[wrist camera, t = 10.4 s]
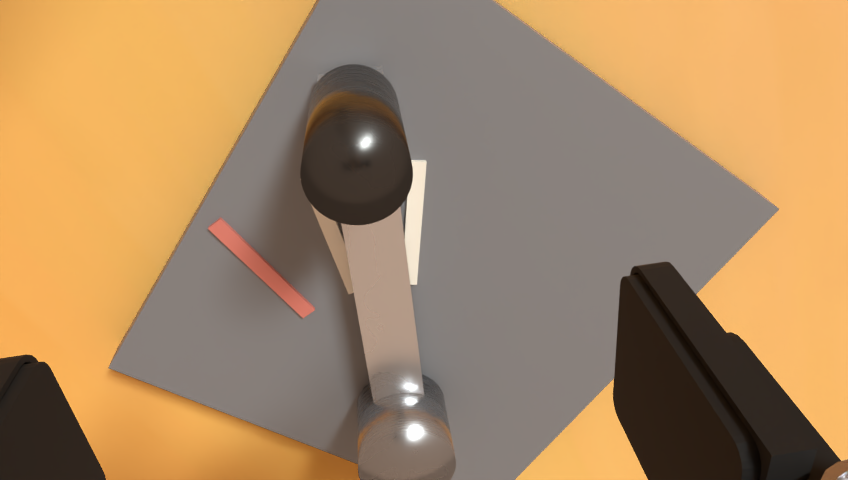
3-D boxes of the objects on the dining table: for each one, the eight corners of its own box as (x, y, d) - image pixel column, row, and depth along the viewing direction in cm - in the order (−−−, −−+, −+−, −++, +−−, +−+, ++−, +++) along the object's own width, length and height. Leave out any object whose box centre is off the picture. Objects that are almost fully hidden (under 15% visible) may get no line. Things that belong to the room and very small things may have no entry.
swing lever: (447, 430, 35) (471, 561, 28) (363, 443, 35) (367, 577, 28) (406, 46, 25) (428, 112, 18) (288, 60, 25) (268, 132, 18)
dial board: (368, -91, 24) (370, -88, 23) (761, 194, 32) (781, 211, 31) (117, 347, 33) (106, 370, 31) (478, 491, 40) (483, 515, 39)
